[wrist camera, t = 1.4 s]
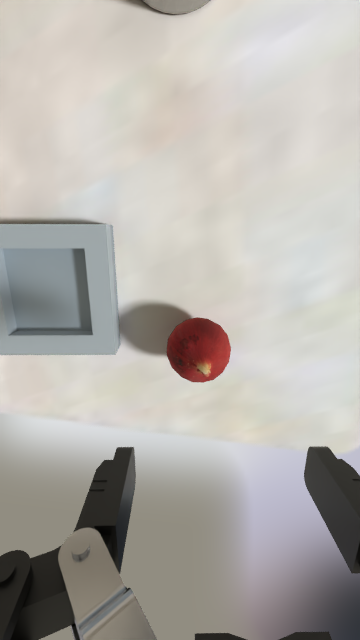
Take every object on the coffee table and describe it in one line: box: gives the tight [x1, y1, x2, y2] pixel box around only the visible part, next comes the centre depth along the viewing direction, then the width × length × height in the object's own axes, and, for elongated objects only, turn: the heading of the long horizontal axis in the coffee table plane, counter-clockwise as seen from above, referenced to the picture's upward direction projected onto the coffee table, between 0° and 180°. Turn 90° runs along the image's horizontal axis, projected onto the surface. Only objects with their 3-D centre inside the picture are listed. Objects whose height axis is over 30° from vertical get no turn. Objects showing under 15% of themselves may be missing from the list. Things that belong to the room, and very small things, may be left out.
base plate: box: [0, 224, 120, 355], centre depth 26 cm, size 12×12×2 cm
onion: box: [167, 318, 231, 382], centre depth 25 cm, size 6×6×8 cm
